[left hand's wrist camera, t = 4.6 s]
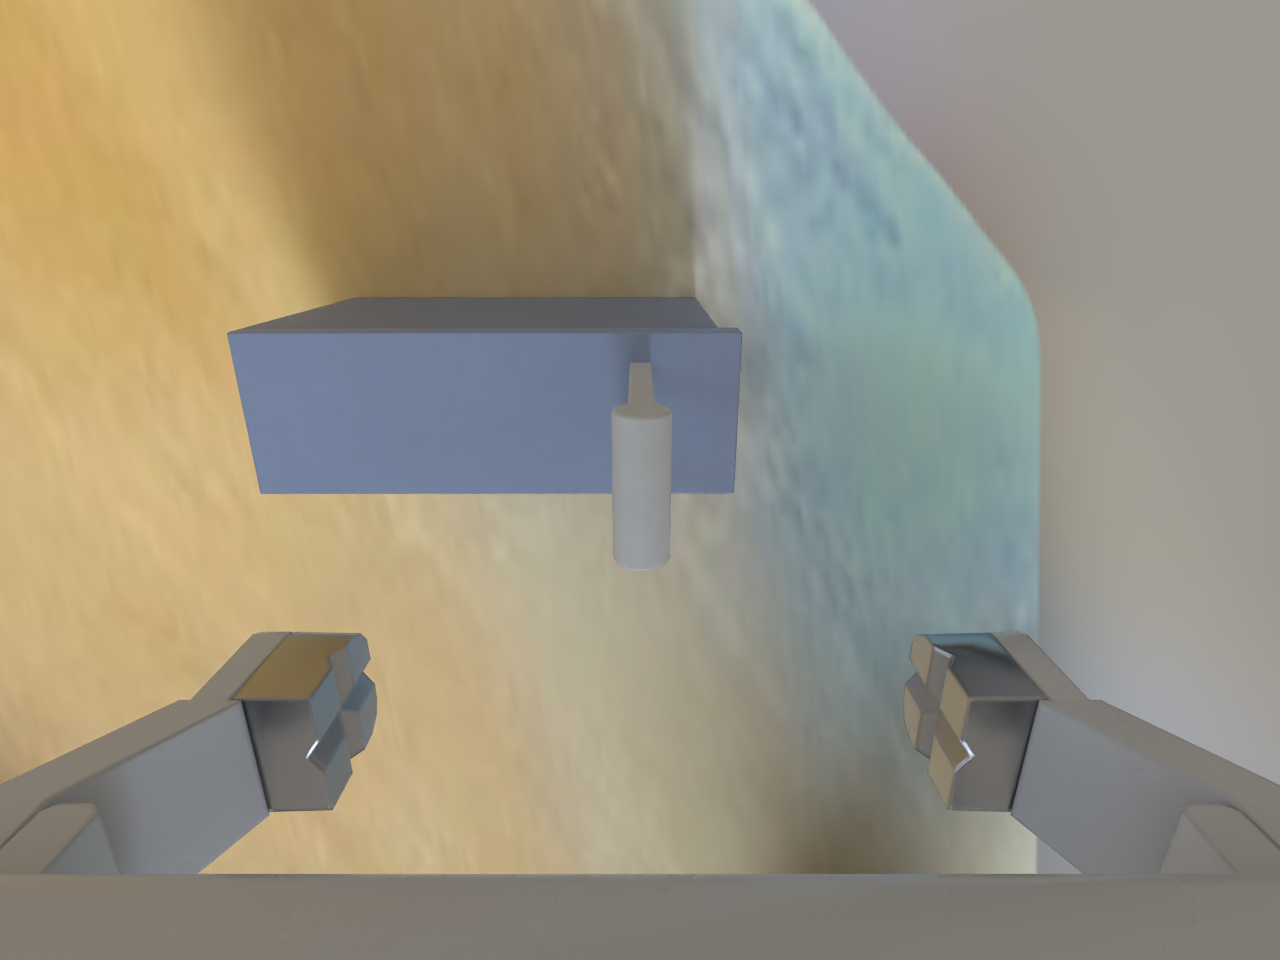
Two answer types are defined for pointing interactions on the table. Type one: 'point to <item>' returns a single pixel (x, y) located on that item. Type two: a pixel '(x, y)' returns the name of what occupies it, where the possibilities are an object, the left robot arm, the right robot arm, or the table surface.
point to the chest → (501, 313)
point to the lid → (497, 415)
